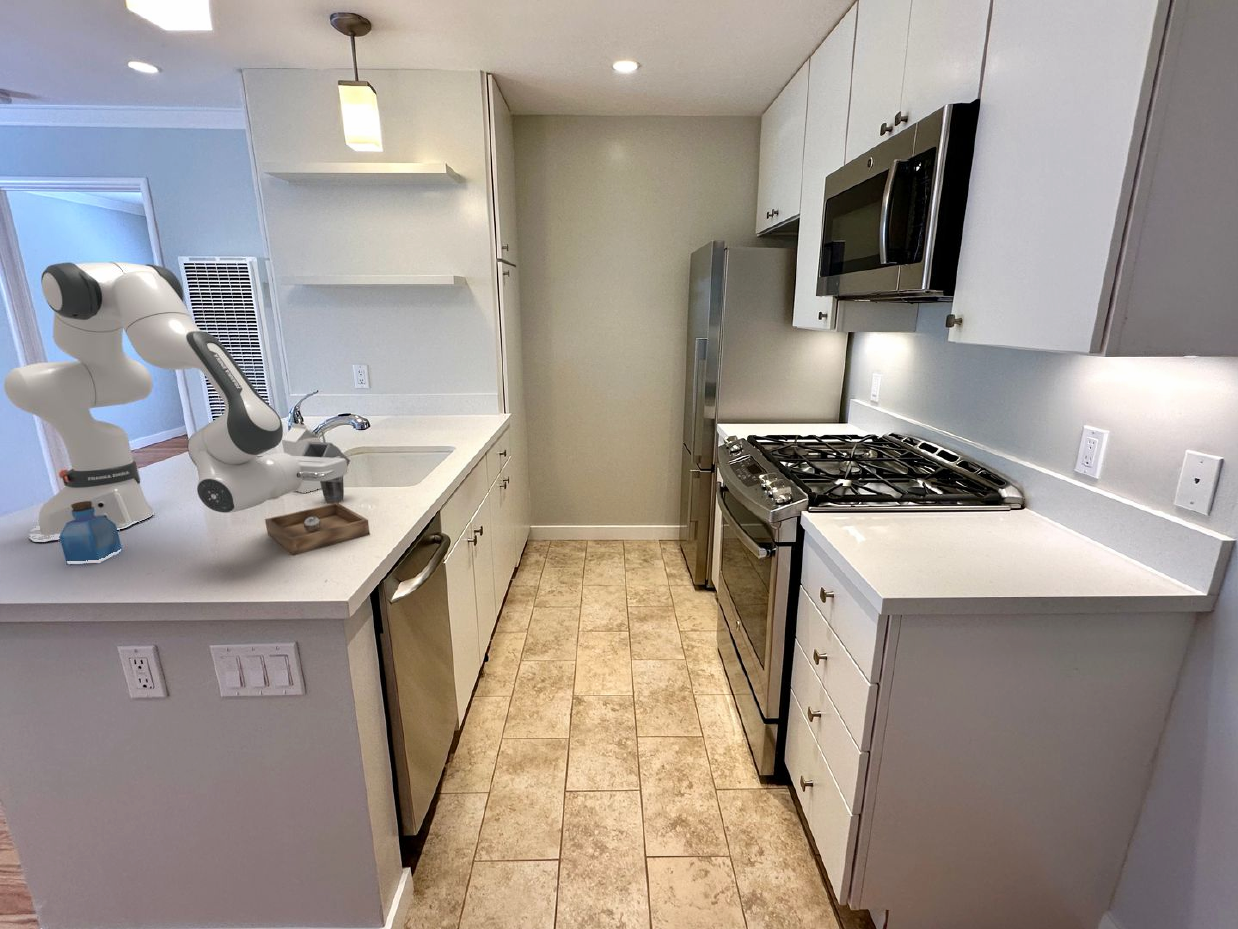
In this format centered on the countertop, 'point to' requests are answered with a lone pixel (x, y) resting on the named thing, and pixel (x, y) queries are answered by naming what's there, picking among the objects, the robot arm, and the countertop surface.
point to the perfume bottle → (88, 535)
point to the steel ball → (312, 524)
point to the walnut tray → (334, 529)
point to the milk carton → (300, 450)
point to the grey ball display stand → (324, 453)
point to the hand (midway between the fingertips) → (324, 458)
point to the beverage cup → (332, 486)
